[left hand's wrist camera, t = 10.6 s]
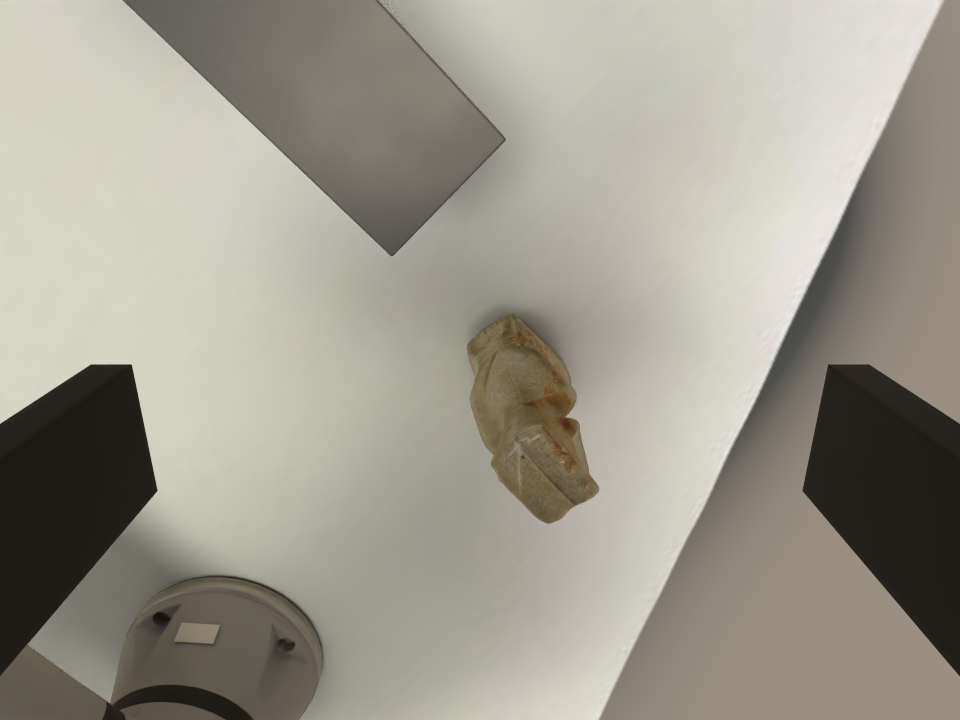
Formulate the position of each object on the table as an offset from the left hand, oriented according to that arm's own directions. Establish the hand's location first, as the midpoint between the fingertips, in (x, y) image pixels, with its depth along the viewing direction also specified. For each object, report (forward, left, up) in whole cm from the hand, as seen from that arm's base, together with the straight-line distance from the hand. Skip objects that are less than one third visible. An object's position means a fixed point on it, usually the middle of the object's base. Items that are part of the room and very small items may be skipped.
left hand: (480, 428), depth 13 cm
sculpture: (-9, -5, -30) cm, 32 cm away
